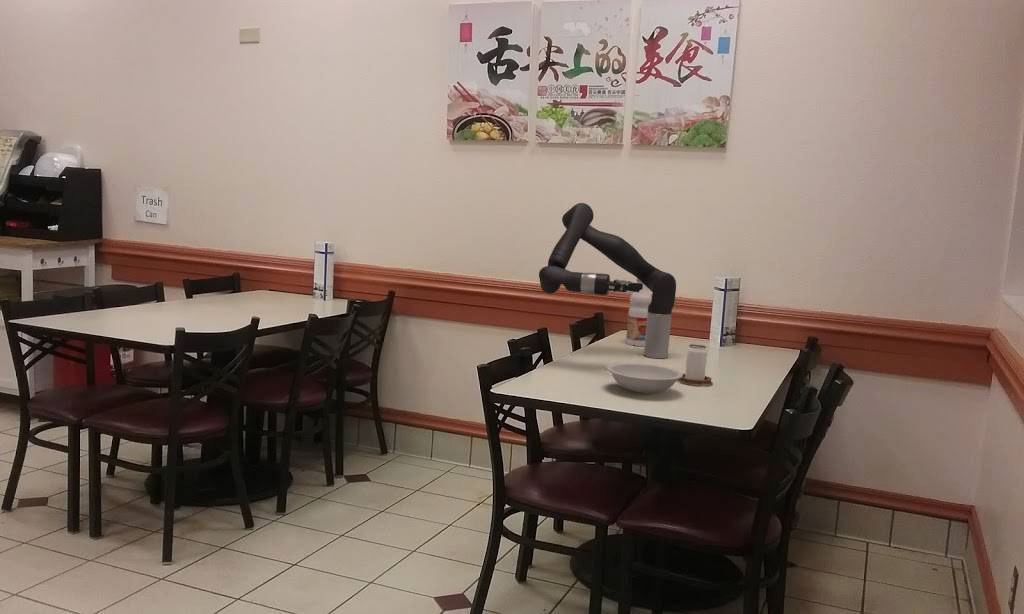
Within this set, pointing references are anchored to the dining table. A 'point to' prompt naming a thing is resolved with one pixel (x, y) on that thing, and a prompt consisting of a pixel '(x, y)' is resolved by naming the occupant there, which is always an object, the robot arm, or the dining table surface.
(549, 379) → the dining table surface
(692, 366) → the can
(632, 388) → the soup bowl
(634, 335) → the fruit juice
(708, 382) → the octagonal wooden coaster
